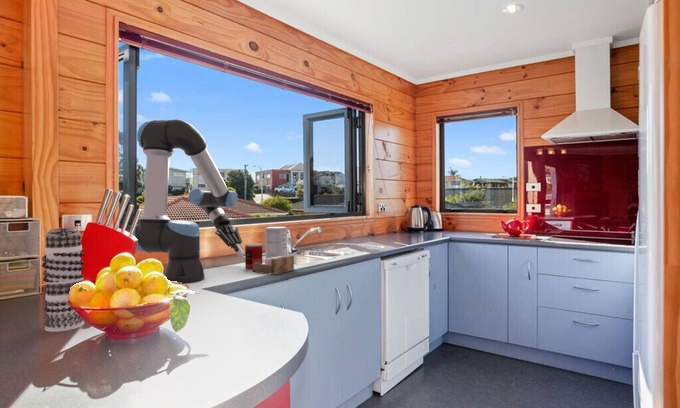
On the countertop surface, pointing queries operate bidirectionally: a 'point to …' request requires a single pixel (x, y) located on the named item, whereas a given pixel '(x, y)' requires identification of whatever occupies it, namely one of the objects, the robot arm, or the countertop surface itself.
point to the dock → (276, 265)
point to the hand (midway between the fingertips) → (242, 255)
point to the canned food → (253, 254)
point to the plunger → (268, 260)
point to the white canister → (275, 242)
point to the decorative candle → (62, 277)
